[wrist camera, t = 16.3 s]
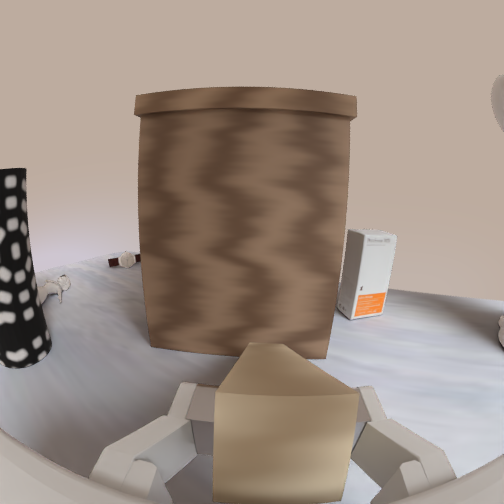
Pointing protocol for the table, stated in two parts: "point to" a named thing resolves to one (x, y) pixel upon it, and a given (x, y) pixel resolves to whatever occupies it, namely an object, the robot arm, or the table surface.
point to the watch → (125, 260)
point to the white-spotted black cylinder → (18, 279)
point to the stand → (242, 216)
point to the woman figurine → (54, 288)
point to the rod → (281, 430)
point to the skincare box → (366, 272)
